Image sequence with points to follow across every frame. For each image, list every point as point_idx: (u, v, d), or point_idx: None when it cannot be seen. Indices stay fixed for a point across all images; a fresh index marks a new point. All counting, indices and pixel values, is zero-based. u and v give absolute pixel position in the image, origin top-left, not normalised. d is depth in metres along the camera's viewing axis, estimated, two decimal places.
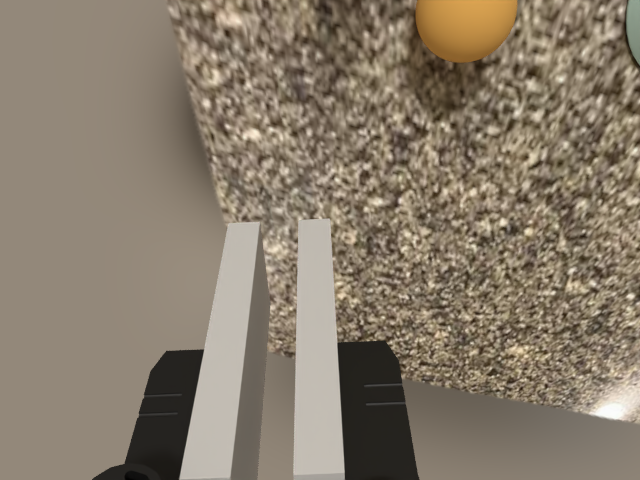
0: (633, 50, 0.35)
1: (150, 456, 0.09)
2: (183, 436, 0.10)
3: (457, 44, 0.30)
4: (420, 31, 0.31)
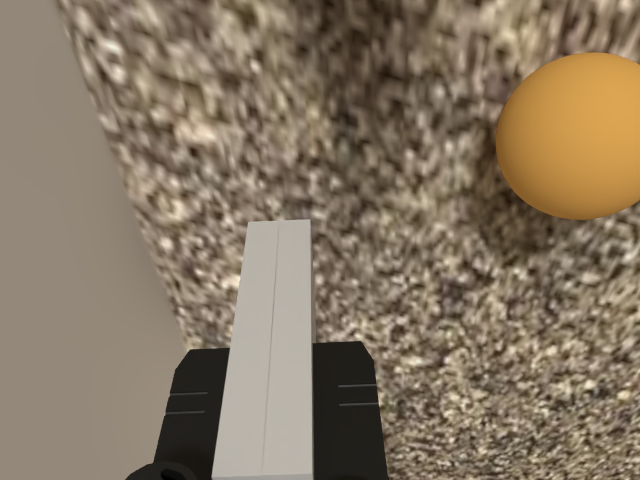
0: None
1: (178, 454, 0.09)
2: (210, 434, 0.10)
3: (575, 203, 0.18)
4: (506, 171, 0.19)
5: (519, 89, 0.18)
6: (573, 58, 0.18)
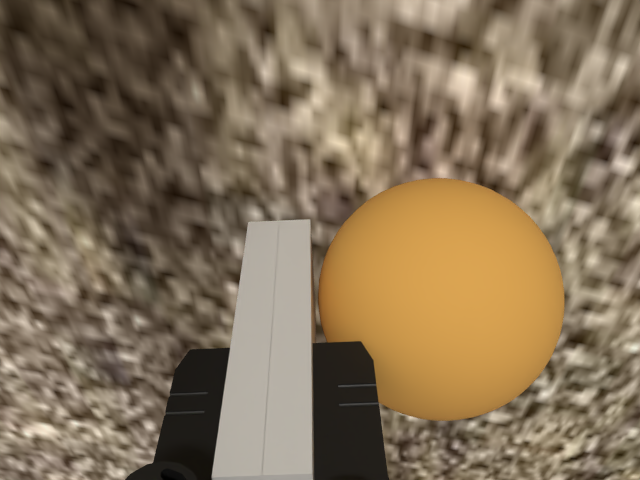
0: None
1: (178, 454, 0.09)
2: (211, 433, 0.10)
3: (414, 412, 0.12)
4: None
5: (340, 232, 0.13)
6: (408, 194, 0.12)
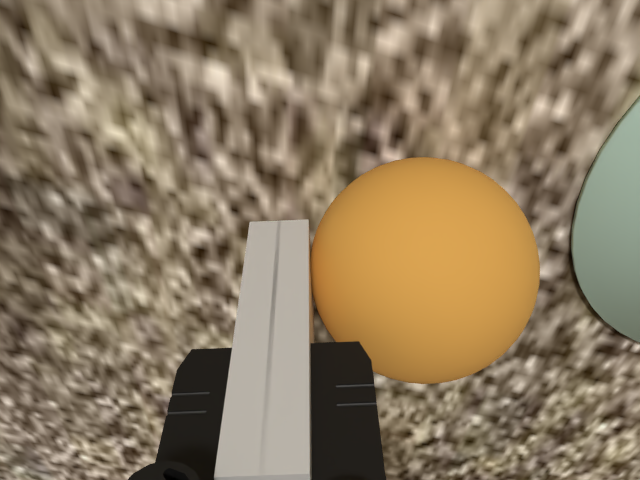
0: (589, 297, 0.18)
1: (180, 454, 0.09)
2: (212, 433, 0.10)
3: (484, 366, 0.13)
4: (375, 364, 0.13)
5: (344, 251, 0.12)
6: (395, 185, 0.12)
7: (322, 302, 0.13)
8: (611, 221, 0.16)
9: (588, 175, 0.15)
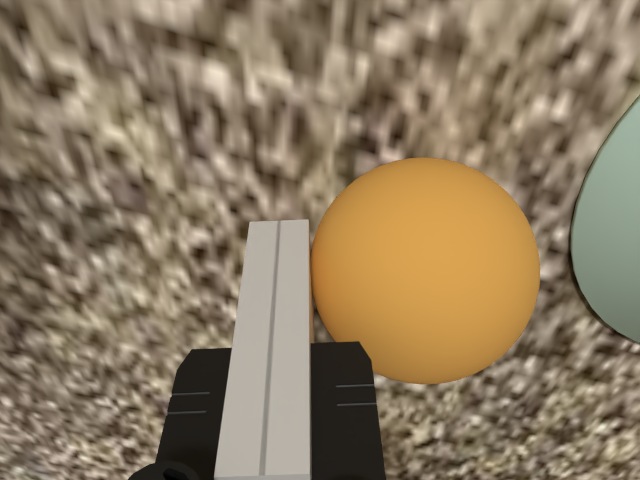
0: (589, 298, 0.18)
1: (181, 454, 0.09)
2: (212, 433, 0.10)
3: (484, 367, 0.13)
4: (374, 364, 0.13)
5: (344, 251, 0.12)
6: (395, 186, 0.12)
7: (322, 302, 0.13)
8: (610, 221, 0.16)
9: (587, 175, 0.15)
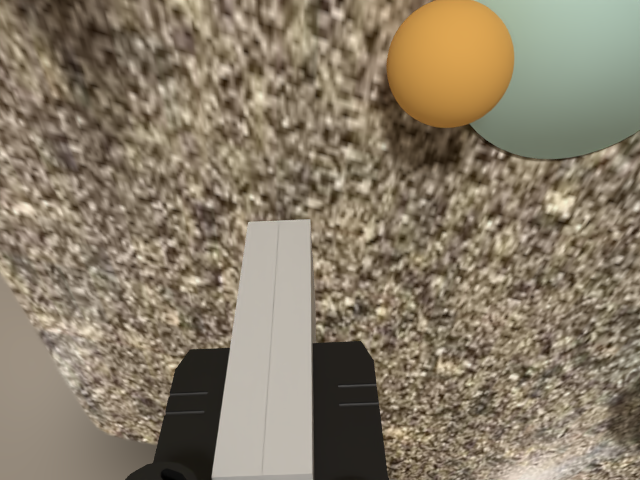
0: None
1: (179, 454, 0.09)
2: (211, 434, 0.10)
3: None
4: (505, 91, 0.24)
5: (491, 41, 0.22)
6: (465, 7, 0.23)
7: (490, 81, 0.23)
8: None
9: None
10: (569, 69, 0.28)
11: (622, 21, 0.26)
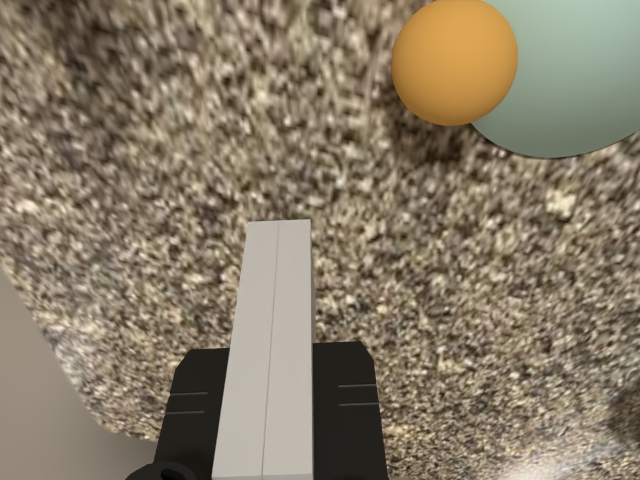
0: None
1: (178, 454, 0.09)
2: (210, 434, 0.10)
3: None
4: (509, 88, 0.25)
5: (497, 39, 0.23)
6: (470, 5, 0.23)
7: (497, 78, 0.23)
8: None
9: None
10: (570, 68, 0.28)
11: (623, 20, 0.27)
